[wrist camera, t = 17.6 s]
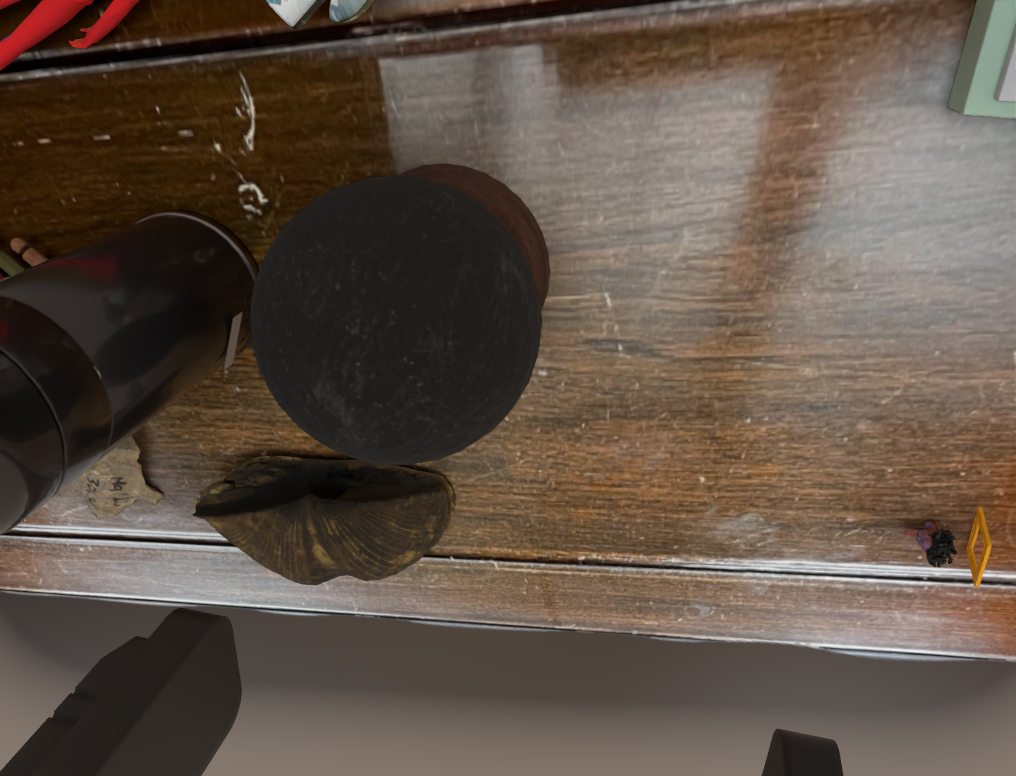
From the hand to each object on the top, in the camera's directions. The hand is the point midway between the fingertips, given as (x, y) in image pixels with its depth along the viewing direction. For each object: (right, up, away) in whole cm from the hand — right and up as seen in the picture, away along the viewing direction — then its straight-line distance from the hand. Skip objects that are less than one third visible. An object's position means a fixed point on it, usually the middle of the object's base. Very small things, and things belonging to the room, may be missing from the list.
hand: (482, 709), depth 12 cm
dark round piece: (-3, +11, +33) cm, 35 cm away
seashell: (-11, -3, +42) cm, 44 cm away
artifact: (-27, -1, +45) cm, 53 cm away
